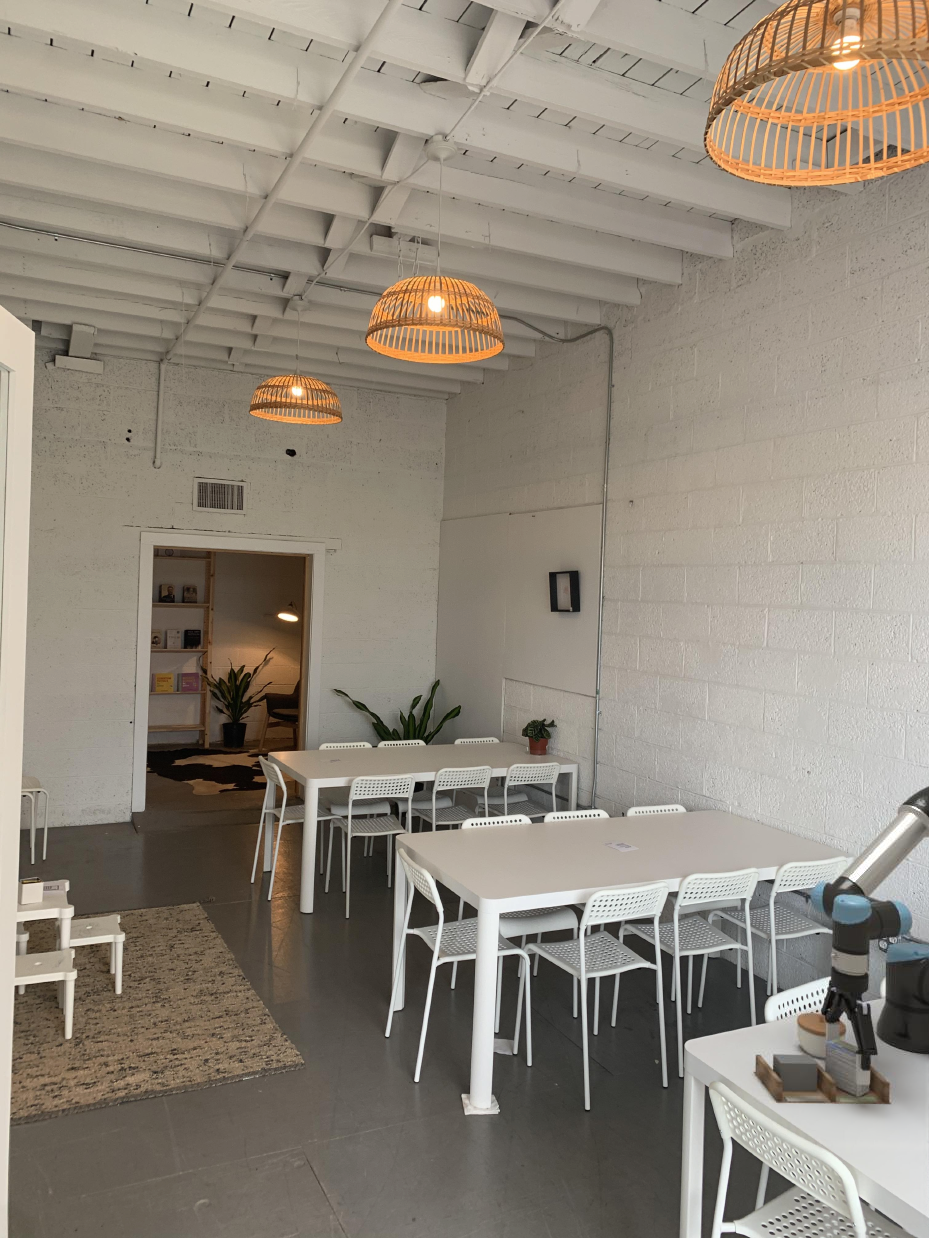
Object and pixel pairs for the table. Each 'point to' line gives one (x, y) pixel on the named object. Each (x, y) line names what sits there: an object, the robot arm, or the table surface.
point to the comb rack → (822, 1088)
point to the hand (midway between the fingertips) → (846, 1067)
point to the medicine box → (843, 1066)
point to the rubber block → (796, 1072)
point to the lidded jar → (815, 1033)
